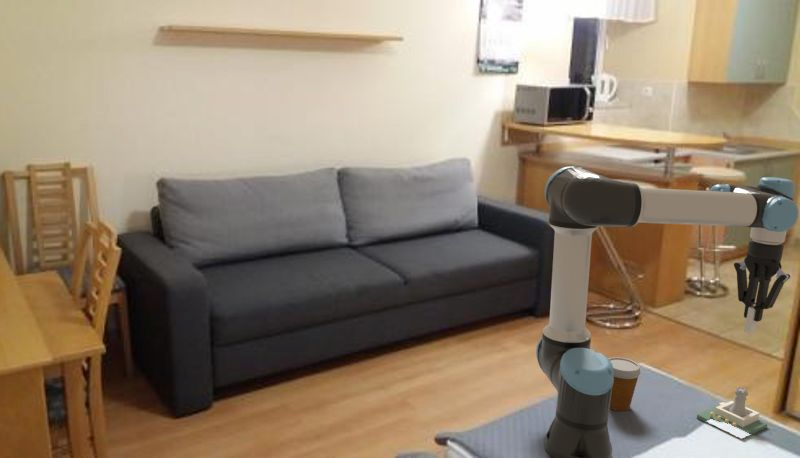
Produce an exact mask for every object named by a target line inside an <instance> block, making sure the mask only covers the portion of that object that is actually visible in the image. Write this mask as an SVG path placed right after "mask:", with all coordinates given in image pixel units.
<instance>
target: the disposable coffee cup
mask: <svg viewBox="0 0 800 458" xmlns="http://www.w3.org/2000/svg"><path fill="white" fill-rule="evenodd" d="M608 359H609V360H610V361H611V363H612V365H613V370H614V372H613V376H614V383H613V386H612V393H611V400H610V408H609V409H611V410H614V411H618V412H625V411H628V410H630V407H631V403H632V401H633V396H634V393H635V390H636V385H637V382H638V378H639V377H640V375H641V373H642V371H641V370H642V369H641V367H640V365H639V364H638V363H637V362H636V361H634V360H632V359H630V358H625V357H618V356H617V357H609V358H608Z"/></svg>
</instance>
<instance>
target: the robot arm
mask: <svg viewBox="0 0 800 458" xmlns="http://www.w3.org/2000/svg"><path fill="white" fill-rule="evenodd" d="M545 183H546V184H545V187H544V196H545V200H546V201H545V202H546V203H547V205H548V206H549V211H548V212H549V213H548V225H549V226H550V227H551V228H552V229H553V230H554V236H553V237H554V238H553V239H554V240H553V255H552V256H553V257H552V258H553V259H552V272H551V287H550V289H551V290H550V306H549V307H550V308H549V323H548V324H547V325H546V326H544V327H543V328H542V336H541V337H540V338H539V340H538V342H537V344H536V349H535V356H536V360H537V363H538V366H539V367H540V369H541V371H542V372H543V374H545V376H546V377H547V378H548V380H549V382H550V383H551V384H552V386H553V387H554V388H555V390H556V392H557V397H556V398H557V399H556V409H555V416H554V417H553V420H552V422H551V424H550V426H549V428H548V429H547V432H546V434H545V438H544V439H545V440H544V449H545V450H546V452H547V454H548V455H549V456H551V458H612V457H613V456H612V455H613V445H612V443H611V439H610V433H609V428H608V422H609V421H608V420H609V413H610V409H611V408H610V400H611V393H612V386H613V383H614V376H613V372H614V370H613V365H612V363H611V361H610V360H609V358H608V357H607V356H606V355H605V354H603V353H601V352H597V350H594V349H591V342H592V340H591V339H592V334H591V333H592V332H590V330H589V329H588V328H587V327H586V322H587V321H586V320H587V307H588V305H587V304H588V294H589V293H588V292H589V280H590V279H589V277H590V267H591V251H592V241H593V240H592V238H593V233H594V232H595V231H596V230H598V228H600V227H624V228H625V227H627V228H632V227H635V226H637V225H638V224H639V223H645V224H667V225H688V226H689V225H690V226H691V225H692V226H716V227H717V226H718V227H719V226H720V227H743V228H750V233H749V237H750V238H751V239H750V240H748V245H747V251H746V253H747V255H746V256H745V258H744V259H743V260H742V261H738V262H735V263H733V268H734V269H735V272H736V280H737V282H736V283H737V299H738V301H739V302H741V303H743V304H744V310H743V311H744V312H743V318H746V320H745V325H744V332H745V333H747V334H753V333H756V332H757V327H758V322H761V321H762V319H763V314H764V310H767V309H772V308H773V307H774V305H775V302H776V301H777V299H778V297H779V294H780V293H781V290H782V289H783V286H784V285H785V283H786V282H787V281H788V280H789V279H791V275H790V274H789V273H785V271H783V270H782V268H783V267H782V263H781V261H782V257H783V253H784V247H785V245H784V244H783V243H785V241H786V236H787V231H788V230H790V229H791V228H793V227H794V226H795V224H796V223H797V221H798V218H799V207H798V205H797V204H796V203H795V202H794V200H795V199H794V196H795V189H796V188H795V187H796V186H795V182H794V181H793V180H792V179H788V178H784V177H783V178H782V177H773V176H765V177H761V178H760V179H759V182H758V184H757V185H743V184H741V185H740V184H729V183H725V184H715V185H713V186H711V188H709V190H694V189H677V188H676V189H674V188H655V187H652V188H651V187H641V186H640V185H639V184H638V183H636V182H632V181H631V182H629V181H622V180H621V181H620V180H616V179H613V178H610V177H607V176H604V175H601V174H598V173H596V172H593V171H590V170H589V169H586V168H585V167H580V166H573V165H572V166H565V167H561V168H560V169H558V170H556V171H554V172H553V174H551V175H550V176H549V178H548V179H547V181H546V182H545ZM747 271H748V272H749V273H747ZM747 274H748V275H747ZM775 275H776V276H775ZM773 277H775V281H774V282H773V284H772V286H771V288H770V290H769V287H770V283H771V282H772V278H773Z"/></svg>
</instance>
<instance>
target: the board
mask: <svg viewBox="0 0 800 458" xmlns="http://www.w3.org/2000/svg"><path fill="white" fill-rule="evenodd" d="M733 403H734V401H733V400H730V401H728V402H724V401H721V402H719V403H718V404H717V406H715V407H712V408H710V409H707V410H704V411H702V412H700V413H698V414H696V419H698V420H700V419H701V420H700V421H702V420H703V421H702V422H704V421H707V420H710V419H713V420H716V421H719V422H725V423H727V424H728V423H729V424H731V425H732V426H734V427H737V428H739V429H741V430H743V431H745V432H747V433H749V434H752V435H754V434H757V433H758V432H760V431H762V430H764V429H766V428H768V423H767V422H765V421H762V420H760V419H759V418H760V412H758V411H756V410H754V409H752V408H749V407H747V406H745V409H746V412H747V415H746V416H744V417H740V416H738V415H736V414H733V413H731V412H729V409H730V408H731V406H733Z"/></svg>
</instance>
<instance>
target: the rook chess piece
mask: <svg viewBox="0 0 800 458" xmlns="http://www.w3.org/2000/svg"><path fill="white" fill-rule="evenodd" d="M747 396H749V392H748V390H747V388H745V387H743V386H742V387H741V386H737V387H735V389H734V401H733V402H734V403H733V406H731V408H730V409H729V412H731V413H733V414H736V415H738V416H740V417H744V416H746V415H747V412H746V409H745V407H746V401H747Z"/></svg>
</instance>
